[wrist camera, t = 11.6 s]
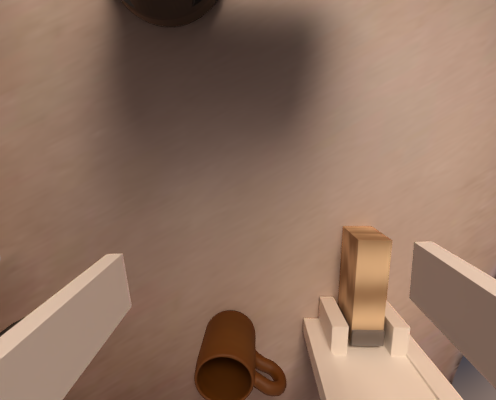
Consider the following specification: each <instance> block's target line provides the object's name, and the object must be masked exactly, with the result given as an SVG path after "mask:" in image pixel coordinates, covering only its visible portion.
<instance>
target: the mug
mask: <svg viewBox="0 0 496 400" xmlns="http://www.w3.org/2000/svg"><path fill="white" fill-rule="evenodd" d="M255 368H256V369H258V370H260V371H262V372H265V373H267V374H269V375H270V376H271V377H272V378H273V380H274V381H271V380H269V379H267V378H266V377H264V376H263V375H261V374H260V373H258V372H257V371H256V370H255ZM194 380H195V385H196V388H197V390H198V392H199V393H200V395H201V396H202V397H203V398H204V399H206V400H245V399H246V398H247V397H248V396H249V394H250V393H251V391H252V389H253V387H255V388H256V389H258V390H259V391H261V392H263V393H264V394H266V395H269V396H279V395H281V394H282V393H283V392H284V391H285V388H286V378H285V374H284V372H283V371H282V369H281V368H280V367H279V366H278V365H277V364H276V363H275V362H273V361H271V360H269V359H267V358H265V357H263V356H262V355H261V354H259V353H258V352H257V351H256V349H255V329H254V326H253V324H252V322H251V320H250V319H249V318H248V317H247V316H245V315H244V314H242V313H240V312H237V311H223V312H220V313H218V314H217V315H215V316H214V317H213V318H212V319H211V320H210V322H209V324H208V326H207V328H206V332H205V335H204V338H203V342H202V345H201V349H200V352H199V356H198V360H197V364H196V370H195V376H194Z"/></svg>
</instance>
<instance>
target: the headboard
mask: <svg viewBox="0 0 496 400" xmlns="http://www.w3.org/2000/svg"><path fill="white" fill-rule="evenodd" d="M348 330H349V326H348V324H347V322H346V320H345V319H344V317H343V315H342V313H341V311H340V309H339V307H338V305H337V303H336V301H335V299H334V297H320V299H319V318H304V323H303V334H304V337H305V341H306V345H307V349H308V353H309V357H310V361H311V365H312V369H313V373H314V377H315V381H316V385H317V388H318V392H319V396H320V400H463V399H462V397H461V396H460V395H459V394H458V393H457V391H456V390H455V389H454V388H453V386H452V385H451V384H450V383H449V382H448V380H447V379H446V378H445V377H444V375H443V374H442V373H441V372H440V371H439V369H438V368H437V367H436V366H435V365H434V363H433V362H432V361H431V360H430V359H429V357H428V356H427V355H426V354H425V352H424V351H423V350H422V349H421V348H420V346H419V345H418V344H417V343H416V342H415V340H414V339H413V338H412V337H411V335H410V327H409V326H408V324H407V323H406V322H405V321H404V320H403V319H402V317H401V316H400V315H399V314H398V313H397V312H396V310H395V309H394V308H393V307H392V306H391V305H390V303H389V302H388V301H387V300H386V309H385V319H384V329H383V330H384V332H385V335H384V345H383V346H352V345H351V343H350V341H349V339H348Z"/></svg>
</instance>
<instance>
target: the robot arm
mask: <svg viewBox="0 0 496 400" xmlns="http://www.w3.org/2000/svg"><path fill="white" fill-rule="evenodd" d="M121 1H122V2H123V4H124V5H125V6H126V7H127V8H128V9H129V10H130V11H131V12H133V13H134V14H135V15H136V16H138V17H139V18H141V19H143V20H145V21H147V22H149V23H152V24H155V25H159V26H166V27H174V26H181V25H185V24H188V23H191V22H193V21H195V20H197V19H198V18H200V17H202V16H203V15H204V14H205V13H207V12H208V11H209V10H210V9H211V8H212V6H213V5H214V4H215V3H216V1H217V0H121ZM409 298H410V299H411V300H412V301H413V302H414V303H415V304H416V306H417V307H418V308H419V309H420V310H421V311H422V312H423V313H424V314H425V315H426V316H427V317H428V318H429V319H430V320H431V321H432V322H433V323H434V325H435V326H436V327H437V328H438V329H439V330H440V331H441V332H442V333H443V334H444V335H445V336H446V337H447V338H448V339H449V340H450V341H451V342H452V344H453V345H454V346H455V347H456V348H457V349H458V350H459V351H460V352H461V353H462V354H463V355H464V356H465V357H466V358H467V359H468V360H469V362H470V363H471V364H472V365H473V366H474V367H475V368H476V369H477V370H478V371H479V372H480V373H481V374H482V375H483V376H484V377H485V378H486V379H487V380H488V382H489V383H490V384H491V385H492V386H493V387H494V388H495V389H496V279H494V278H493V277H491V276H489V275H488V274H486V273H484V272H483V271H481V270H479V269H478V268H476V267H474V266H472V265H471V264H469V263H467V262H466V261H464V260H462V259H461V258H459V257H457V256H456V255H454V254H452V253H451V252H449V251H447V250H446V249H444V248H442V247H441V246H439V245H437V244H436V243H434V242H432V241H429V242H414V250H413V262H412V273H411V285H410V297H409ZM131 307H132V305H131V299H130V293H129V287H128V281H127V275H126V269H125V263H124V258H123V253H122V254H106V255H105V256H104V257H102V258H101V259H100V260H98V261H97V262H96V263H95V264H93V265H92V266H91V267H89V268H88V269H87V270H86V271H84V272H83V273H82V274H80V275H79V276H78V277H76V278H75V279H74V280H73V281H71V282H70V283H69V284H67V285H66V286H65V287H64V288H62V289H61V290H60V291H58V292H57V293H56V294H55V295H53V296H52V297H51V298H49V299H48V300H47V301H46V302H44V303H43V304H42V305H40V306H39V307H38V308H37V309H35V310H34V311H33V312H31V313H30V314H29V315H28V316H26V317H24V318H22V319H21V320H19V321H17V322H15V323H13V324H11V325H10V326H9V327H7V328H6V329H5V330H3V331H2V332H1V333H0V400H63V399H64V397H65V396H66V395H67V393H68V392H69V390H70V389H71V388H72V386H73V385H74V384H75V382H76V381H77V380H78V378H79V377H80V376H81V374H82V373H83V372H84V370H85V369H86V368H87V366H88V365H89V363H90V362H91V361H92V359H93V358H94V357H95V355H96V354H97V353H98V351H99V350H100V349H101V347H102V346H103V345H104V343H105V342H106V341H107V339H108V338H109V336H110V335H111V334H112V332H113V331H114V330H115V328H116V327H117V326H118V324H119V323H120V322H121V320H122V319H123V318H124V316H125V315H126V314H127V312H128V311H129V309H130V308H131Z"/></svg>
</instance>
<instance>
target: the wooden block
mask: <svg viewBox="0 0 496 400" xmlns="http://www.w3.org/2000/svg"><path fill="white" fill-rule="evenodd" d="M391 249H392V240H391V239H389V238H388V237H386V236H385V235H384V234H382V233H381V232H379V231H378V230H376V229H375V228H373V227H372V226H343V235H342V250H341V265H340V281H339V296H338V307H339V309H340V311H341V313H342V315H343V317H344V319H345V320H346V322H347V324H348V326H349V330H348V339H349V341H350V343H351V345H352V346H383V345H384V335H385V332H384V330H383V329H384V319H385V309H386V299H387V289H388V279H389V269H390V259H391Z"/></svg>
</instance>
